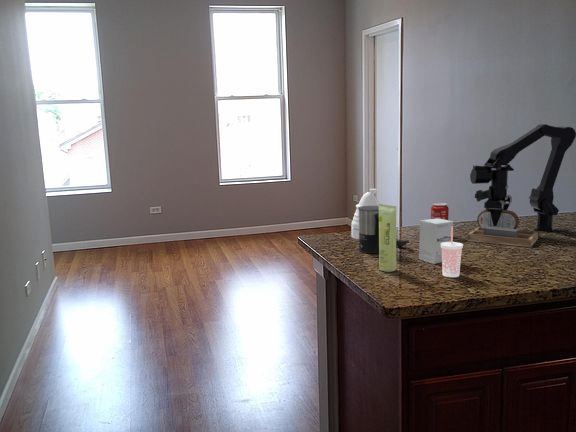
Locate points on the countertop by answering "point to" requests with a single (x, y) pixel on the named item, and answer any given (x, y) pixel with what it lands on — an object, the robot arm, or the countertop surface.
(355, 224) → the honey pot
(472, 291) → the countertop surface
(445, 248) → the beverage cup
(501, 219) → the tin
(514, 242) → the divided wooden tray
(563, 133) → the robot arm
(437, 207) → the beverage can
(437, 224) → the supplement box
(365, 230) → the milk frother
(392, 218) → the tube
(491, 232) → the bar
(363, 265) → the countertop surface
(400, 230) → the countertop surface
